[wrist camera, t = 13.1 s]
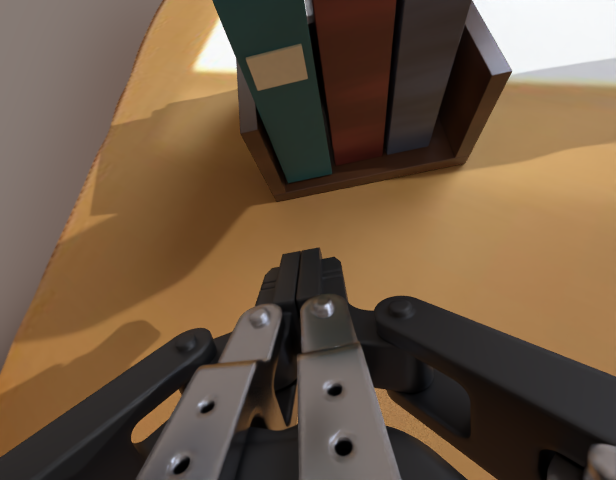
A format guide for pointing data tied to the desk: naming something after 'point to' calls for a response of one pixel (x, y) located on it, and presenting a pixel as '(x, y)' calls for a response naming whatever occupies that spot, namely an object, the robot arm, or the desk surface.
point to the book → (280, 79)
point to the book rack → (389, 90)
